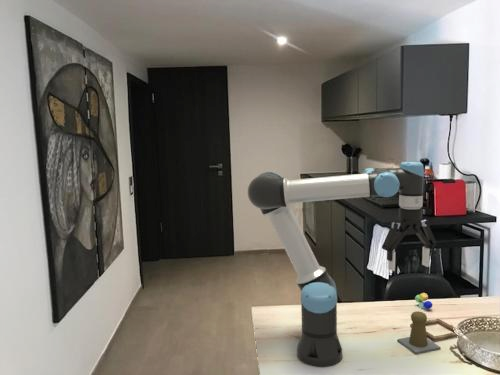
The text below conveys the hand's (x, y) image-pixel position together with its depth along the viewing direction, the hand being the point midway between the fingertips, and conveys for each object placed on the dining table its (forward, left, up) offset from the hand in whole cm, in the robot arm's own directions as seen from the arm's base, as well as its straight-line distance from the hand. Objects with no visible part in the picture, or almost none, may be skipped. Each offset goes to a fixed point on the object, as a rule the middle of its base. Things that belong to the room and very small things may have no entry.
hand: (408, 267), depth 152 cm
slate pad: (+2, -4, -27) cm, 27 cm away
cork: (+2, -4, -26) cm, 27 cm away
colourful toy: (+25, +22, -27) cm, 43 cm away
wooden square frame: (+15, +3, -27) cm, 31 cm away
